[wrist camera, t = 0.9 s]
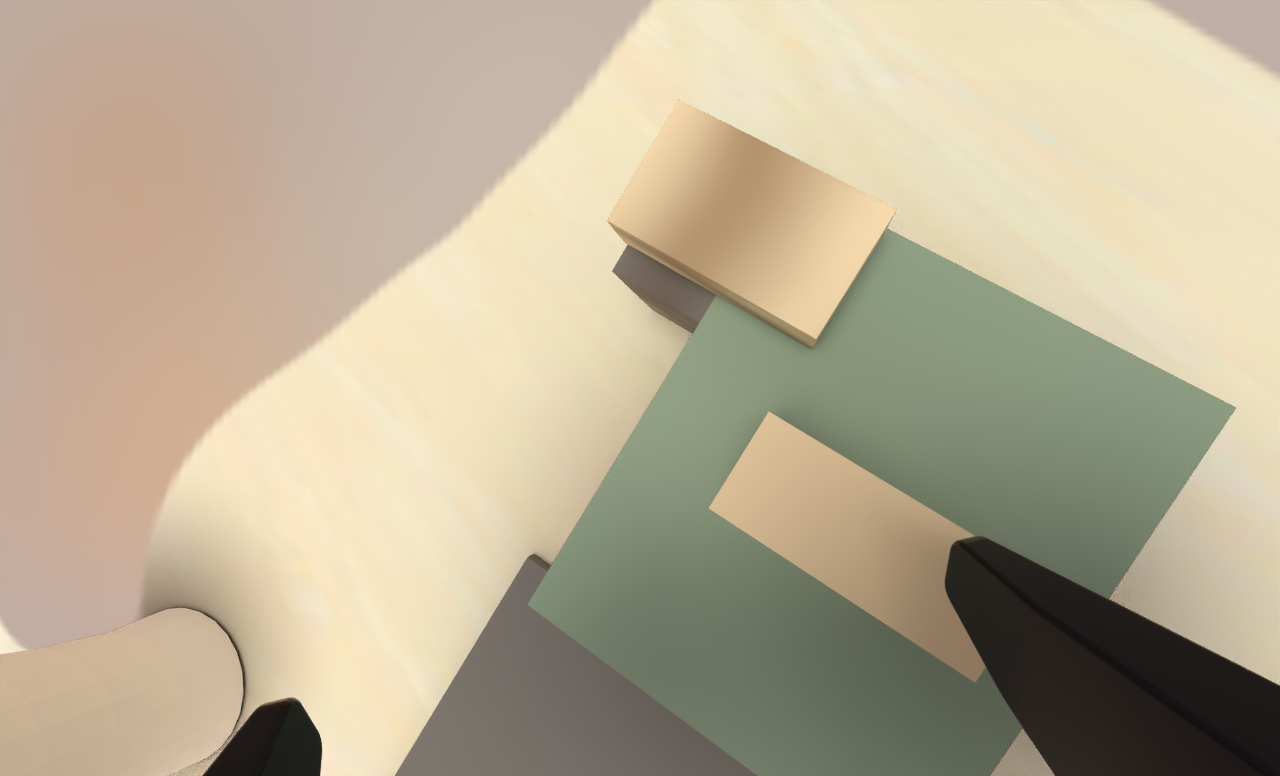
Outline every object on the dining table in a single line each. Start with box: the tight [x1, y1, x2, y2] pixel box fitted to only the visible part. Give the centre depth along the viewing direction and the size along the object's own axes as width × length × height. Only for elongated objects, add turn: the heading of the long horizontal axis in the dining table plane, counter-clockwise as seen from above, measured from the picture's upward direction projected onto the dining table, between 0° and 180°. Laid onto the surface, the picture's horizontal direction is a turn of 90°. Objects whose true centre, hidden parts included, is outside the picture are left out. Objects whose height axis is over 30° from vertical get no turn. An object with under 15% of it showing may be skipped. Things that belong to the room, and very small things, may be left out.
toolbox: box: [612, 130, 759, 333], centre depth 20 cm, size 15×15×6 cm
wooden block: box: [607, 100, 897, 349], centre depth 17 cm, size 6×4×2 cm, turn 58°
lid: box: [527, 229, 1236, 776], centre depth 16 cm, size 12×14×5 cm
